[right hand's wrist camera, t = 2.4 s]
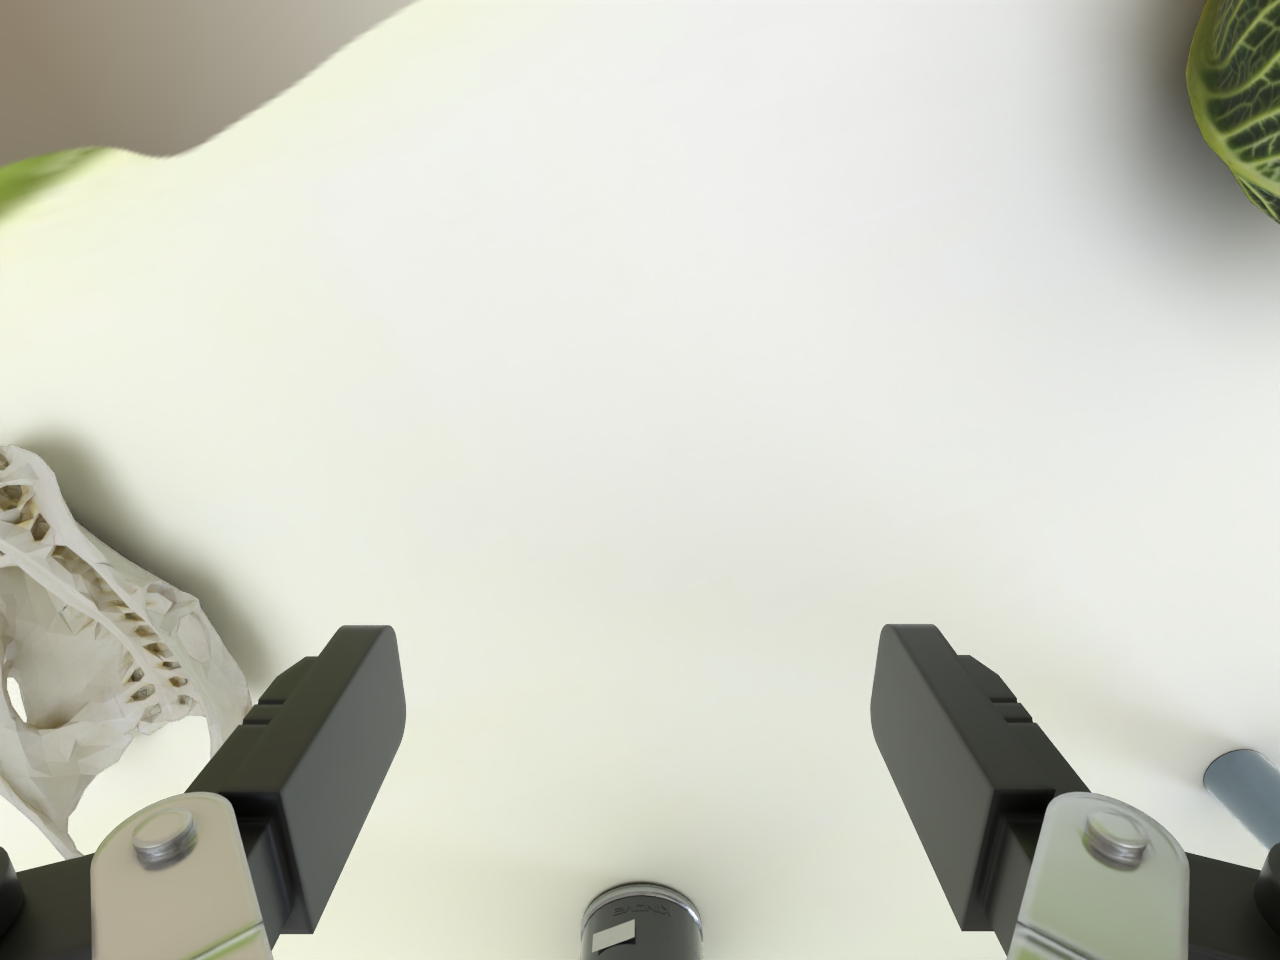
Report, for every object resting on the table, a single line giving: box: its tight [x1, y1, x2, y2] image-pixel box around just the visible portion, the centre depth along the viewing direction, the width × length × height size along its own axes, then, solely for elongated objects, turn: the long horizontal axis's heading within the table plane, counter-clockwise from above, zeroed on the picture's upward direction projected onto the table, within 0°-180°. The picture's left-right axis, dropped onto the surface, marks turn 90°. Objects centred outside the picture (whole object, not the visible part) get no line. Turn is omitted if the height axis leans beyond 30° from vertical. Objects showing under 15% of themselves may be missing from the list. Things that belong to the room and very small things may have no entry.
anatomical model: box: [0, 445, 253, 860], centre depth 41 cm, size 15×9×25 cm
